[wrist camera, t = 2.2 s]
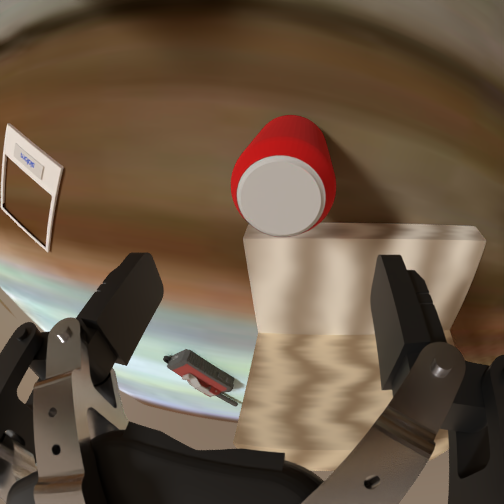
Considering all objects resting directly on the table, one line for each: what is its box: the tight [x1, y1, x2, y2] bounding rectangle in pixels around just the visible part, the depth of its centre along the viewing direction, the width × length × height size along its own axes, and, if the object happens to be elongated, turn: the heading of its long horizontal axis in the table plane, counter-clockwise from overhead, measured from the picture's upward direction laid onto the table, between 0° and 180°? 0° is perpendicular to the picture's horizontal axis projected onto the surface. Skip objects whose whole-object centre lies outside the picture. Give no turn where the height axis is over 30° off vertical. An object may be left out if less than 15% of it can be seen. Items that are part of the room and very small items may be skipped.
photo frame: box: [1, 123, 64, 252], centre depth 33 cm, size 15×1×18 cm
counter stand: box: [233, 223, 486, 471], centre depth 27 cm, size 26×26×18 cm
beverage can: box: [231, 115, 336, 237], centre depth 19 cm, size 6×6×12 cm
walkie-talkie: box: [163, 349, 238, 406], centre depth 50 cm, size 9×4×20 cm
